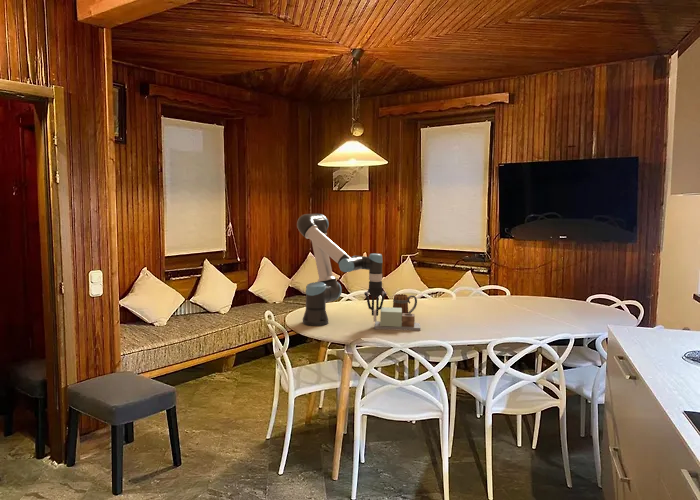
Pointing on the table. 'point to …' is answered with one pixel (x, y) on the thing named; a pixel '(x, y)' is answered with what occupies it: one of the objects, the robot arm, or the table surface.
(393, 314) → the cover
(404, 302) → the mug
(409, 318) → the brown wooden cup
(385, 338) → the table surface
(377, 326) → the housing base
